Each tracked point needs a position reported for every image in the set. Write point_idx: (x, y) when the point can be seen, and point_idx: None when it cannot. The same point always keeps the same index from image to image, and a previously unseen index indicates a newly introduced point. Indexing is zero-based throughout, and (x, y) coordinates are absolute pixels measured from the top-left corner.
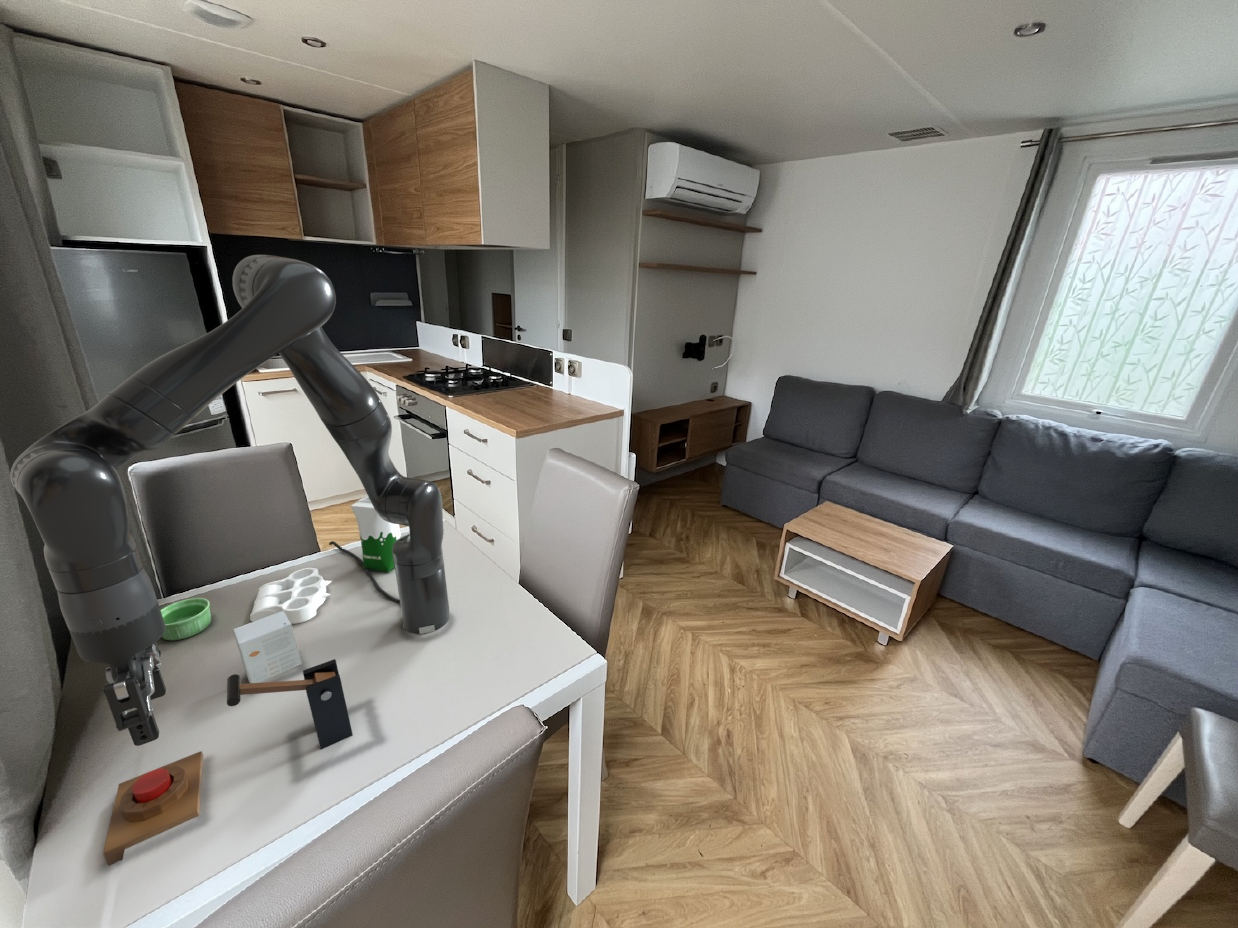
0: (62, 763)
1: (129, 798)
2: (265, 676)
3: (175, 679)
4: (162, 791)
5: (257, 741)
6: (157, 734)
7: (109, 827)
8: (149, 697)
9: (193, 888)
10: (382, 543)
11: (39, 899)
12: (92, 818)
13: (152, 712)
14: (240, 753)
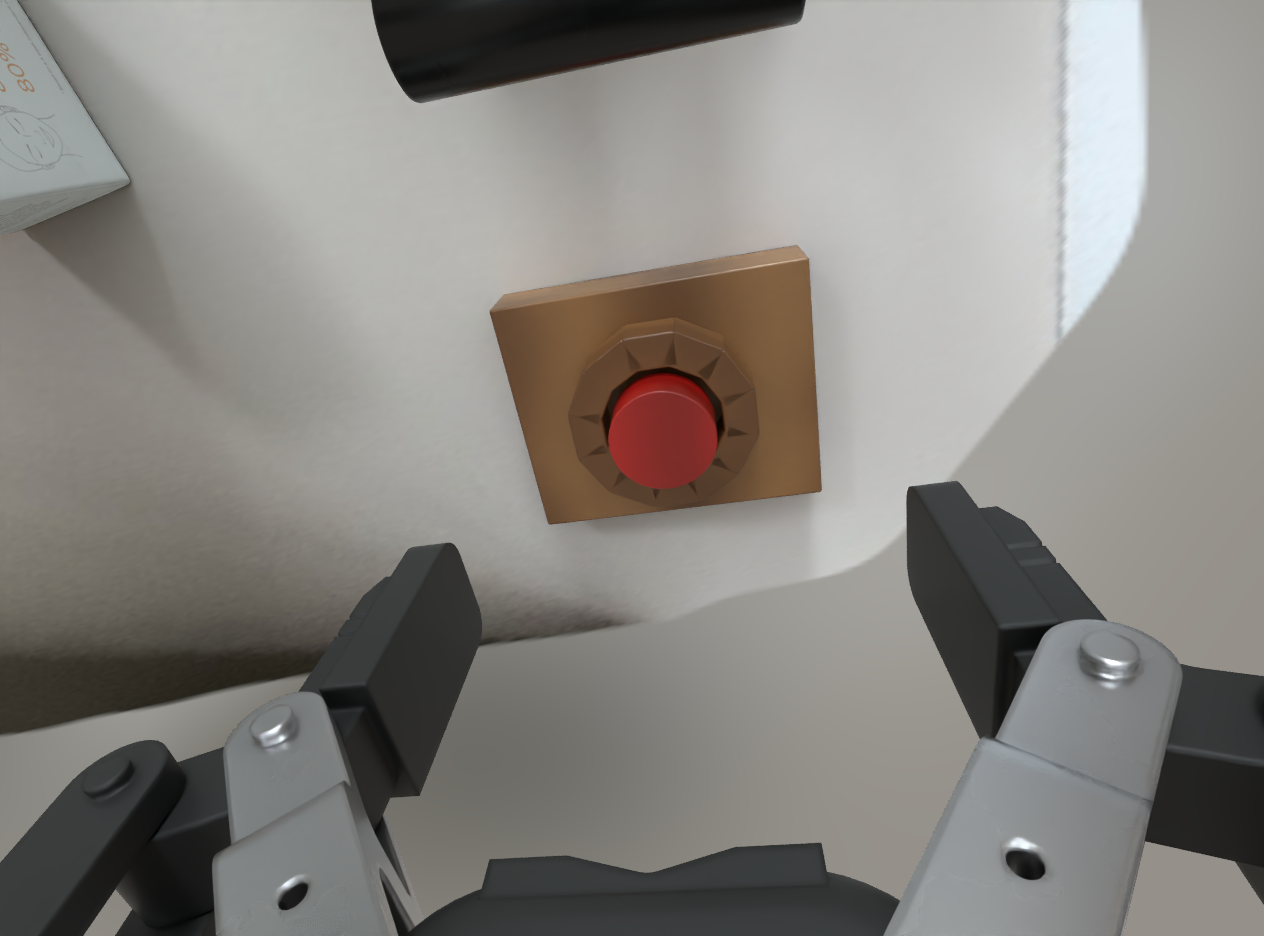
0: None
1: None
2: (46, 118)
3: (38, 489)
4: (699, 391)
5: (457, 105)
6: (961, 493)
7: (727, 501)
8: (1037, 746)
9: (1066, 211)
10: None
11: (822, 575)
12: (610, 545)
13: (993, 613)
14: (505, 169)
